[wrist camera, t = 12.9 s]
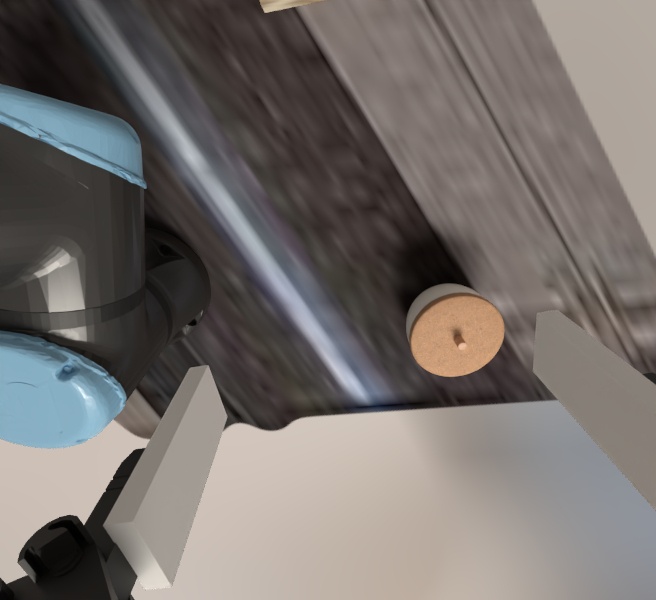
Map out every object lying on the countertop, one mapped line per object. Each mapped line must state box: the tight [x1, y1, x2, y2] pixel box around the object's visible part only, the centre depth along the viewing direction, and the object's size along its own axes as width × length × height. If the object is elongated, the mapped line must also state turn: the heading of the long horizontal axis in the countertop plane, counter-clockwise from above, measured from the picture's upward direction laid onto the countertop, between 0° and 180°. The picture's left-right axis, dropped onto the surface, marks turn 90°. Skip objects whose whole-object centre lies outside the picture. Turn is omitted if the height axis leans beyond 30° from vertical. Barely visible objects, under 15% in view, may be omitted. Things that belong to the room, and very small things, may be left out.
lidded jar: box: [406, 283, 504, 377], centre depth 45 cm, size 11×11×9 cm
